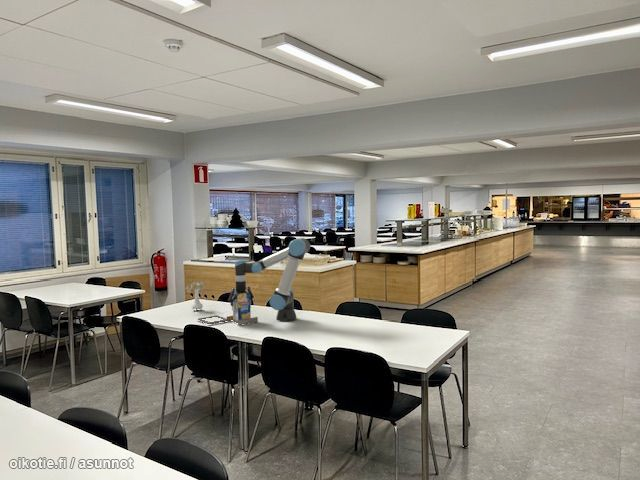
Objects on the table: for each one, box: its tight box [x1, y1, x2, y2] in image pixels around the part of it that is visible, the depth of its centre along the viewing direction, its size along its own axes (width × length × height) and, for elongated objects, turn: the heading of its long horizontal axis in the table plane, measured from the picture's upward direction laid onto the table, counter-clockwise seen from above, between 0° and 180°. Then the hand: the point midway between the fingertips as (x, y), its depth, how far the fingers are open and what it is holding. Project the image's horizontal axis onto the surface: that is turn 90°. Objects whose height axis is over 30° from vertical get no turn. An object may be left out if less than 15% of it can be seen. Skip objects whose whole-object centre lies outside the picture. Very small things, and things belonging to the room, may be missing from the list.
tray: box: [197, 314, 228, 324], centre depth 351 cm, size 20×16×2 cm
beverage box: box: [232, 291, 252, 324], centre depth 345 cm, size 7×11×22 cm, turn 133°
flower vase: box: [184, 280, 206, 310], centre depth 394 cm, size 13×18×25 cm
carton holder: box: [226, 315, 259, 326], centre depth 346 cm, size 18×16×4 cm
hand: (241, 309), depth 346 cm, fingers open, 13 cm apart
